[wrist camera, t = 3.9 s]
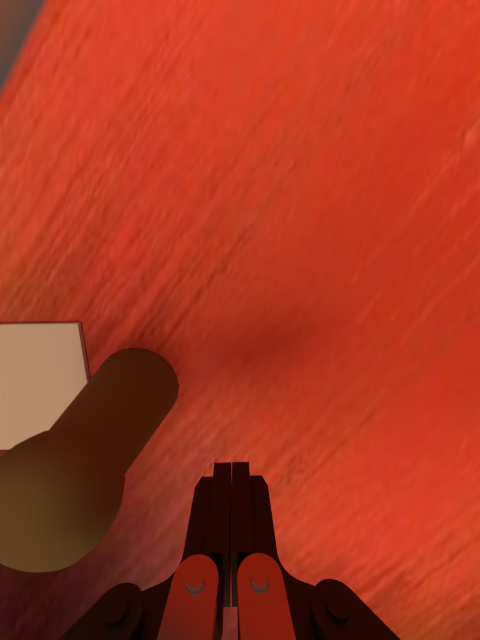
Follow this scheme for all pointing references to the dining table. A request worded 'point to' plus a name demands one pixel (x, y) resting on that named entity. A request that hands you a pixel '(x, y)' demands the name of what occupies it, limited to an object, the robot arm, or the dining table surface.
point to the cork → (81, 463)
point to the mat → (38, 376)
